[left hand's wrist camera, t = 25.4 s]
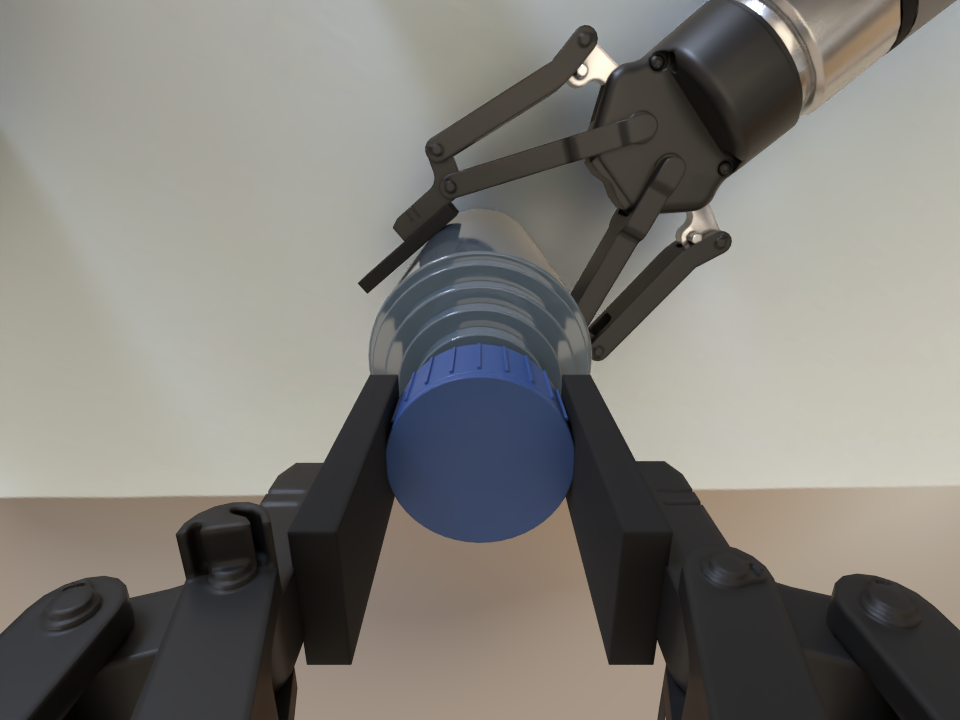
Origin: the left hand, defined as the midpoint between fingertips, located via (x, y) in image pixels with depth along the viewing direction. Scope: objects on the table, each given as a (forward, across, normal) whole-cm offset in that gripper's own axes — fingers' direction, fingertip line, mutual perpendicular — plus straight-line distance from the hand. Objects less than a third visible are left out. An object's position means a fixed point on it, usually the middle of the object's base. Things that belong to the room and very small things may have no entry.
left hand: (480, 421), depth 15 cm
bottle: (+23, 0, 0) cm, 23 cm away
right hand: (+17, -4, -3) cm, 18 cm away
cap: (-2, 0, 0) cm, 2 cm away
